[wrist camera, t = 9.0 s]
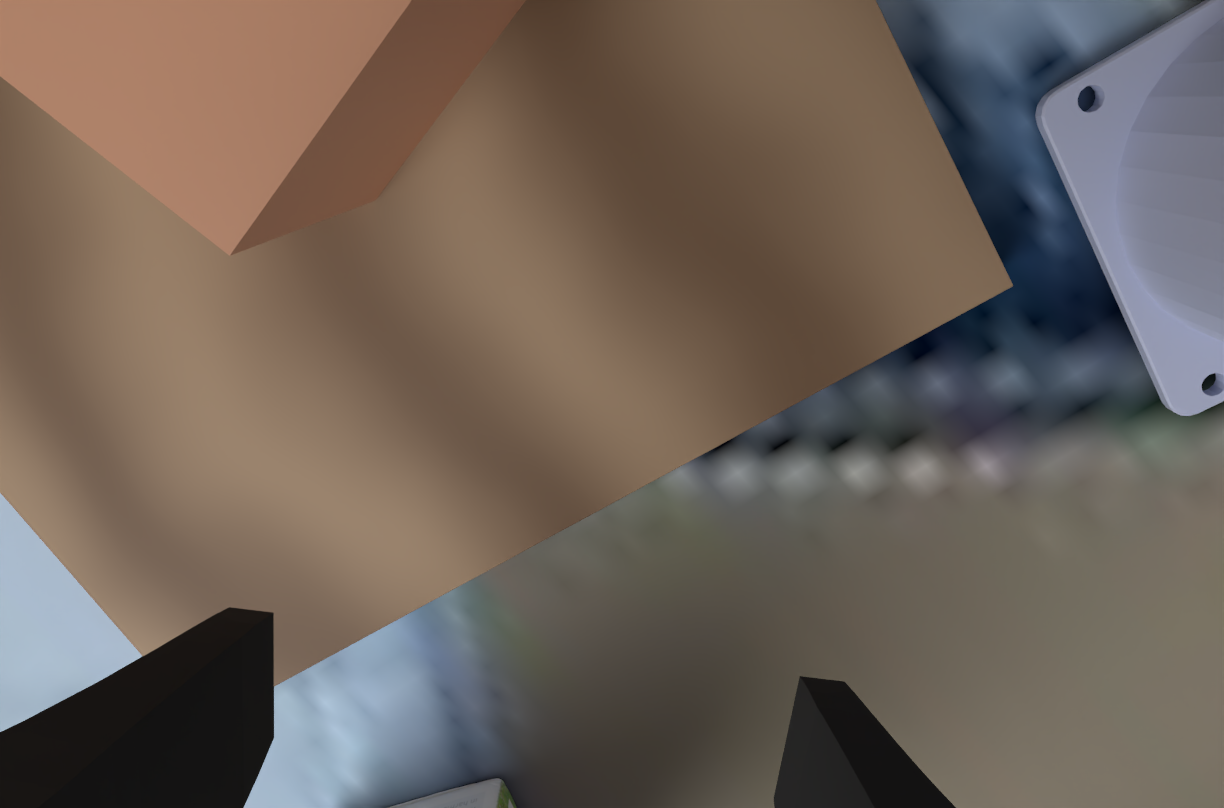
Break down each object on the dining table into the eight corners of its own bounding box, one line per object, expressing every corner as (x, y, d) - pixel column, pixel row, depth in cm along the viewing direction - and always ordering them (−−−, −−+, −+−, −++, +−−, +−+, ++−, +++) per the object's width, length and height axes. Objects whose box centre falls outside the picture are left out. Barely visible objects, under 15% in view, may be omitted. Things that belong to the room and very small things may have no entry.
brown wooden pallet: (552, -630, 16) (526, -820, 12) (992, 275, 20) (1058, 309, 17) (-301, 82, 20) (-484, 80, 17) (223, 695, 24) (159, 786, 21)
